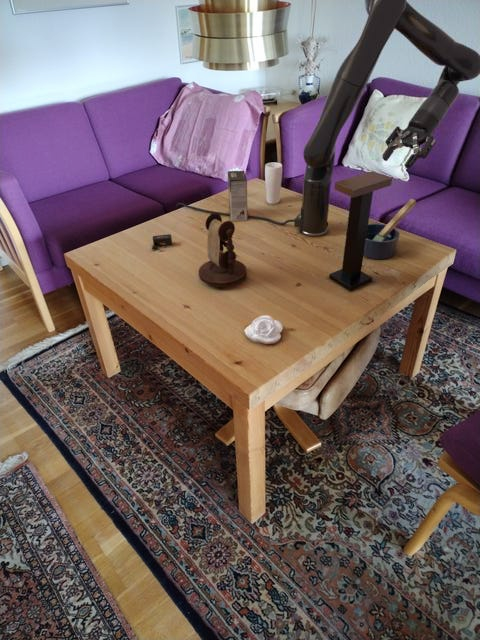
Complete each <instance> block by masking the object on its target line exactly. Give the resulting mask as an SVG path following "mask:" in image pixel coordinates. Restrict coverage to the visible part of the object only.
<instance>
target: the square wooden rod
mask: <svg viewBox="0 0 480 640" xmlns="http://www.w3.org/2000/svg"><path fill="white" fill-rule="evenodd" d="M416 205H417V201H416V199H413V198H410V199H409V200H408V201H407V202H406V203H405V205H403V207H402V208H401V209H399V211H398V212H397V213H396V214H395V215H394V216H393V218H391V220H389V222H388V223H387V224H385V225H386V226H385V227H384V229H383V230H382V231H381V232H380V233H379V235H378V234H377V235H376V236H375V237H374V239H373V241H385V237H386V236H387V235H388V234H389V233H390V232H391V231H392V230H393V229H394V228H395V229H396V227H397V225H398V224H399V223H400V222H401V221H402V220H403V219H404V218H405V217H406V216H407V215H408V214H409V212H411V210H412V209H413V208H414V207H415V206H416Z"/></svg>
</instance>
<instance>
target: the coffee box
mask: <svg viewBox="0 0 480 640" xmlns="http://www.w3.org/2000/svg"><path fill="white" fill-rule="evenodd" d="M227 189H228V190H227V191H228V209H229V212H228V213H229V214H230V216H229V217H230V221H231V222H240V221H248V218H247V216H248V179H247V176H246V173H245V170H228V171H227Z"/></svg>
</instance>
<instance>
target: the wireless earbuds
mask: <svg viewBox="0 0 480 640" xmlns="http://www.w3.org/2000/svg"><path fill="white" fill-rule="evenodd" d="M152 243H153V245H152V247H151V250H152V251H154V250H157V249H159V248H161V247H162V248H163V247H164V248H165V247H171V246H173V238H172V234H168V233H167V234H160V235H153V236H152Z"/></svg>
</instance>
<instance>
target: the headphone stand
mask: <svg viewBox="0 0 480 640" xmlns="http://www.w3.org/2000/svg"><path fill="white" fill-rule="evenodd" d="M392 182H393V178H392V177H390V176H388V175H385V174H382V173H379V172H377V171H374V170H370V171H368V172H365V173H362V174H361V173H360V174H357V175H354V176H352V177H348V178H344V179H342V180H337V181H335V182H334V188H333V190H334V191H337V192H339V193H342V194H344V195H346V196H347V197H350V201H349V209H348V218H347V224H346V225H347V226H346V232H345V233H346V234H345V242H344V248H343V249H344V250H343V258H342V267H341V269H338V270H336V271H334V272H333V271H332V272H331V273H329V276H328V278H329V279H330V280H331V281H333V282H335V283H336V284H338V285H339V286H341V287H342V288H344V289H346V290H347V291H349V292H351V291H354V290H356V289H358V288H361V287H363V286H366V285H368V284H370V283H372V282H373V277H372V276H371V275H369V274H367V273H365V272H364V271H362V269H363V268H362V267H363V261H364V256H363V255H364V249H365V242H366V235H367V229H368V224H369V221H370V214H371V208H372V201H373V195H374V192H375V191H378V190H381V189H385V188H388V187H390V186H392V184H393V183H392Z"/></svg>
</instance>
